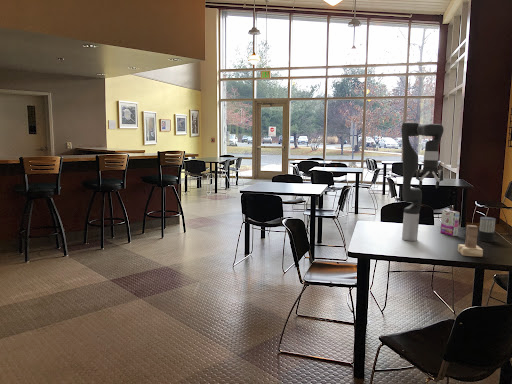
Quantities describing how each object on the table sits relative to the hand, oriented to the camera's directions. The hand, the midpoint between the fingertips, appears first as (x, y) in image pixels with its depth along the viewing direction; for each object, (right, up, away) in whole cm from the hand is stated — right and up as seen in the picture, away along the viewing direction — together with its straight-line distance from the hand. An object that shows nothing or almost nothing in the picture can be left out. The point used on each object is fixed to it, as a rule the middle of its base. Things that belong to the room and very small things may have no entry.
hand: (428, 187), depth 238 cm
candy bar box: (+34, -32, +47) cm, 66 cm away
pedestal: (+22, -37, -3) cm, 43 cm away
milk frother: (+47, -34, +35) cm, 68 cm away
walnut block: (+22, -33, -3) cm, 40 cm away
